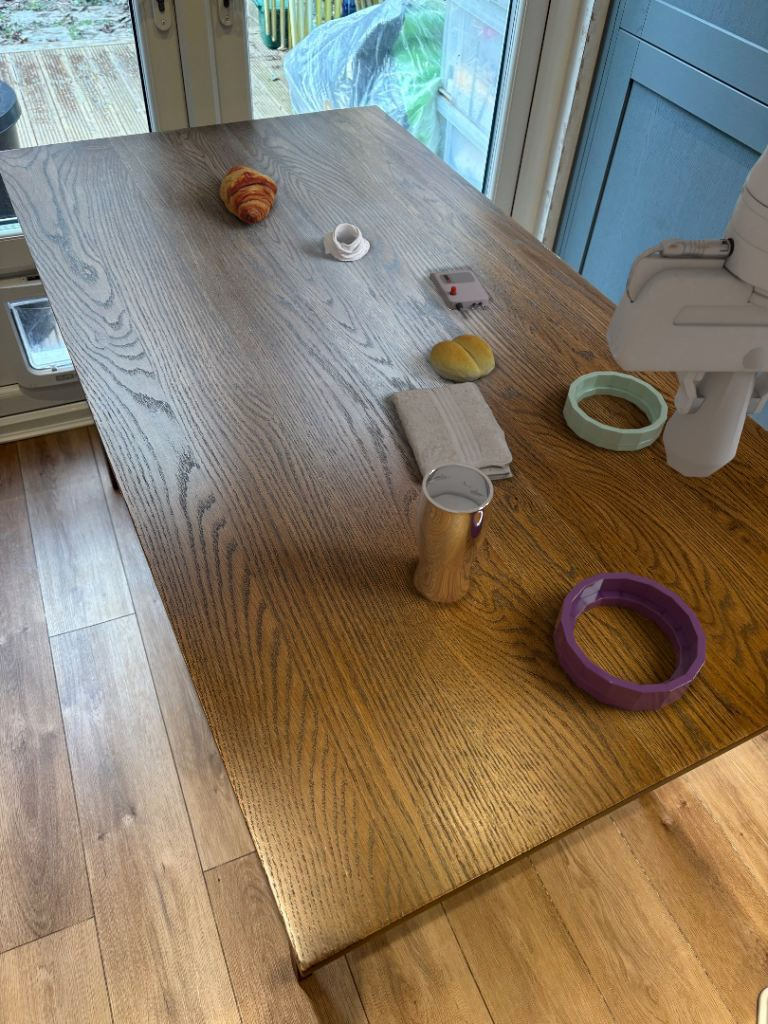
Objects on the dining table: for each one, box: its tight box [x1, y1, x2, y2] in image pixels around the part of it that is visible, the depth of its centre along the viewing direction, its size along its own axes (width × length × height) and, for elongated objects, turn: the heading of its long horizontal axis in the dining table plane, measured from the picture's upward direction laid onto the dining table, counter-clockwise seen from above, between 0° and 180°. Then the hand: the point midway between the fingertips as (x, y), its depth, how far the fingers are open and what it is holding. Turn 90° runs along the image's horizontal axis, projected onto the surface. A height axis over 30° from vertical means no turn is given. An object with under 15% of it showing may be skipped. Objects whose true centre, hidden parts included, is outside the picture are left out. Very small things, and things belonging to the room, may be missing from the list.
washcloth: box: [389, 381, 513, 481], centre depth 94 cm, size 12×18×3 cm, turn 15°
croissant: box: [219, 165, 278, 225], centre depth 135 cm, size 21×10×8 cm, turn 14°
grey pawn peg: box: [662, 347, 768, 478], centre depth 58 cm, size 6×6×13 cm
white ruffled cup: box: [322, 222, 371, 263], centre depth 125 cm, size 8×7×5 cm
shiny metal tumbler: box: [413, 462, 494, 604], centre depth 74 cm, size 7×7×15 cm
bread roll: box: [429, 334, 496, 383], centre depth 105 cm, size 8×9×4 cm
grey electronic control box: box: [429, 269, 490, 320], centre depth 119 cm, size 7×16×3 cm, turn 15°
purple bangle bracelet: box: [552, 571, 707, 712], centre depth 73 cm, size 14×14×4 cm
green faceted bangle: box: [562, 370, 669, 452], centre depth 98 cm, size 13×13×4 cm
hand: (715, 409), depth 58 cm, fingers closed on grey pawn peg, 3 cm apart
